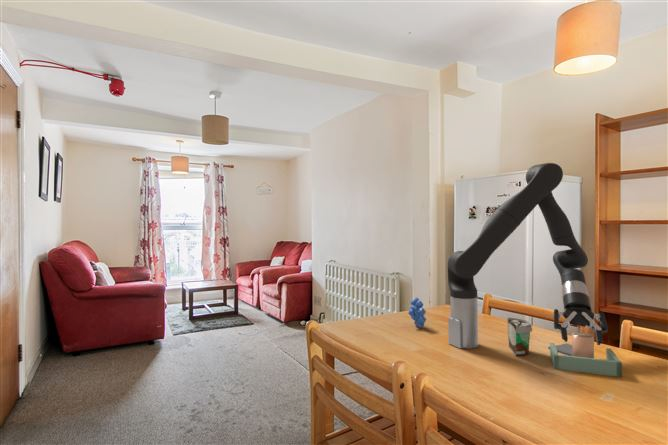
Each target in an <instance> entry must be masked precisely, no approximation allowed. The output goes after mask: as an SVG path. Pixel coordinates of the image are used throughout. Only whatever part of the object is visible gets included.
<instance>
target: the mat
mask: <svg viewBox="0 0 668 445" xmlns="http://www.w3.org/2000/svg"><path fill="white" fill-rule="evenodd" d="M555 346H556V349H557V352H558V353H560V354H562V355H568V356H572V344H570V343H567V342H566V343H561V344H555ZM547 348H548V350H550V346H548V347H547Z"/></svg>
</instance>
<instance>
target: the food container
mask: <svg viewBox="0 0 668 445" xmlns="http://www.w3.org/2000/svg"><path fill="white" fill-rule="evenodd" d="M506 322H507V334H508V348H509V349H510V351H511V352H512V354H513V355H514V356H515V357H526V356H528V355H529V353H530V352H529V351H530V339H531V338H530V337H531V332H532V331H533V327H532V324H531V322H530V321H527V320H525V319H523V318H522V319H521V318H517V317H516V318H515V317H507V320H506Z"/></svg>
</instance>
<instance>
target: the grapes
mask: <svg viewBox="0 0 668 445" xmlns="http://www.w3.org/2000/svg"><path fill="white" fill-rule="evenodd" d="M410 305H411V306H410V307H409V311H408V315H409V316H410V318H411V319H412V320H413V321H414V322H413V323H414V325H415V326H416V327H418V326H419V328H424V326H425V323H426V321H427V318H426V317H425V315H426V312H427V311H426V310H425V308H424V303H423V302H422V301H421V300H420V299H419V298H418V297H416V296H415V297H414V298H413V299H412V300H411V301H410Z"/></svg>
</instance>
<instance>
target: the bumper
mask: <svg viewBox="0 0 668 445" xmlns="http://www.w3.org/2000/svg"><path fill="white" fill-rule="evenodd" d="M549 347H550V349H549V356H550V359H551V361H552V364H553V369H555V370H561V371H569V372H576V373H577V372H579V373H587V374H594V375H601V376H611V377H616V378H617V377H618V378H623V362H622V360H620V359H619V358H618V356H617V355H616V354H615V352H614V350H612V348H608V347H607V348H606V349H605V350H606V351H605V353H606V354H605V356H606V359H605V358H604V359H602V358H596V357H594V358H586V357H577V356H569V355H566V354H559V352H557V349H556V344H555V342H549Z"/></svg>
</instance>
